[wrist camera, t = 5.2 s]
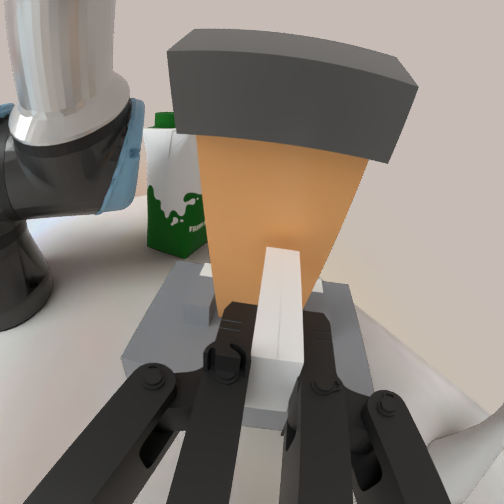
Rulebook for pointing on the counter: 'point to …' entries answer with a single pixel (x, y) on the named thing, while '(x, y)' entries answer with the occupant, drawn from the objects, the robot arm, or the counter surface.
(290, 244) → the lever
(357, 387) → the switch box
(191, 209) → the milk carton
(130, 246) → the counter surface
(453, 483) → the flask
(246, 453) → the counter surface
